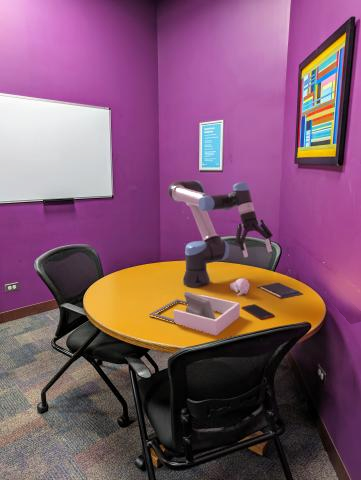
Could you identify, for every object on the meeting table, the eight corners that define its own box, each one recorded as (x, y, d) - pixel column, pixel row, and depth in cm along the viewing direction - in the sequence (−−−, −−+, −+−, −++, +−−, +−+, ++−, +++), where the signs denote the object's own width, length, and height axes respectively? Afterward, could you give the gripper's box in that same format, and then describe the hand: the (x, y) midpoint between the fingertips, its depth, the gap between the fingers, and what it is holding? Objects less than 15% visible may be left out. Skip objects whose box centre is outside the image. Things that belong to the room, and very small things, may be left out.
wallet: (304, 292, 172) (280, 296, 166) (304, 295, 172) (280, 300, 167) (279, 280, 190) (256, 284, 184) (278, 284, 191) (256, 288, 185)
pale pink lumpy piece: (240, 280, 169) (226, 276, 180) (241, 297, 170) (227, 292, 181) (250, 278, 172) (235, 274, 183) (251, 294, 173) (236, 290, 183)
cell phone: (254, 305, 161) (254, 303, 160) (275, 317, 148) (275, 315, 147) (240, 308, 158) (240, 306, 157) (260, 321, 144) (260, 318, 144)
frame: (149, 316, 151) (149, 314, 151) (177, 301, 168) (177, 299, 168) (173, 323, 144) (173, 320, 144) (199, 306, 161) (199, 304, 160)
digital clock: (217, 323, 143) (217, 299, 141) (198, 327, 139) (198, 303, 137) (199, 309, 157) (198, 287, 155) (181, 313, 154) (180, 291, 152)
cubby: (174, 323, 143) (173, 310, 142) (200, 306, 160) (200, 294, 159) (215, 335, 132) (215, 321, 131) (239, 316, 149) (239, 303, 148)
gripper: (228, 214, 162) (239, 257, 159) (272, 207, 171) (283, 248, 168) (221, 218, 169) (232, 260, 166) (264, 211, 178) (275, 251, 175)
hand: (258, 254), depth 167 cm, fingers open, 13 cm apart
